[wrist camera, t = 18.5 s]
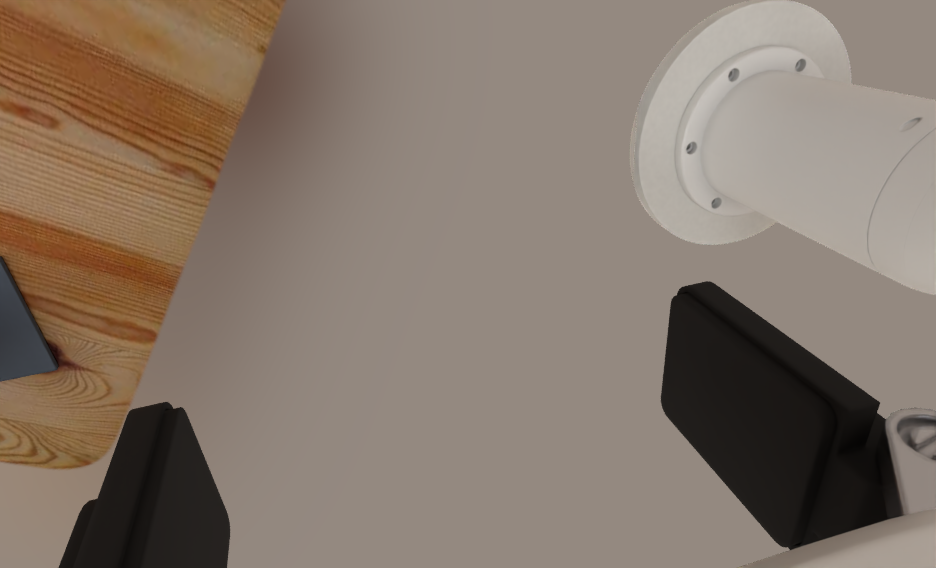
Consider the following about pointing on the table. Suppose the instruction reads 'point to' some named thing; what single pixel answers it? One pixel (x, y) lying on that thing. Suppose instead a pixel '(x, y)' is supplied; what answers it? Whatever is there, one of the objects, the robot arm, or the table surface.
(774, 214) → the robot arm
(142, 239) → the table surface
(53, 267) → the table surface
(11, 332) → the desk pad
